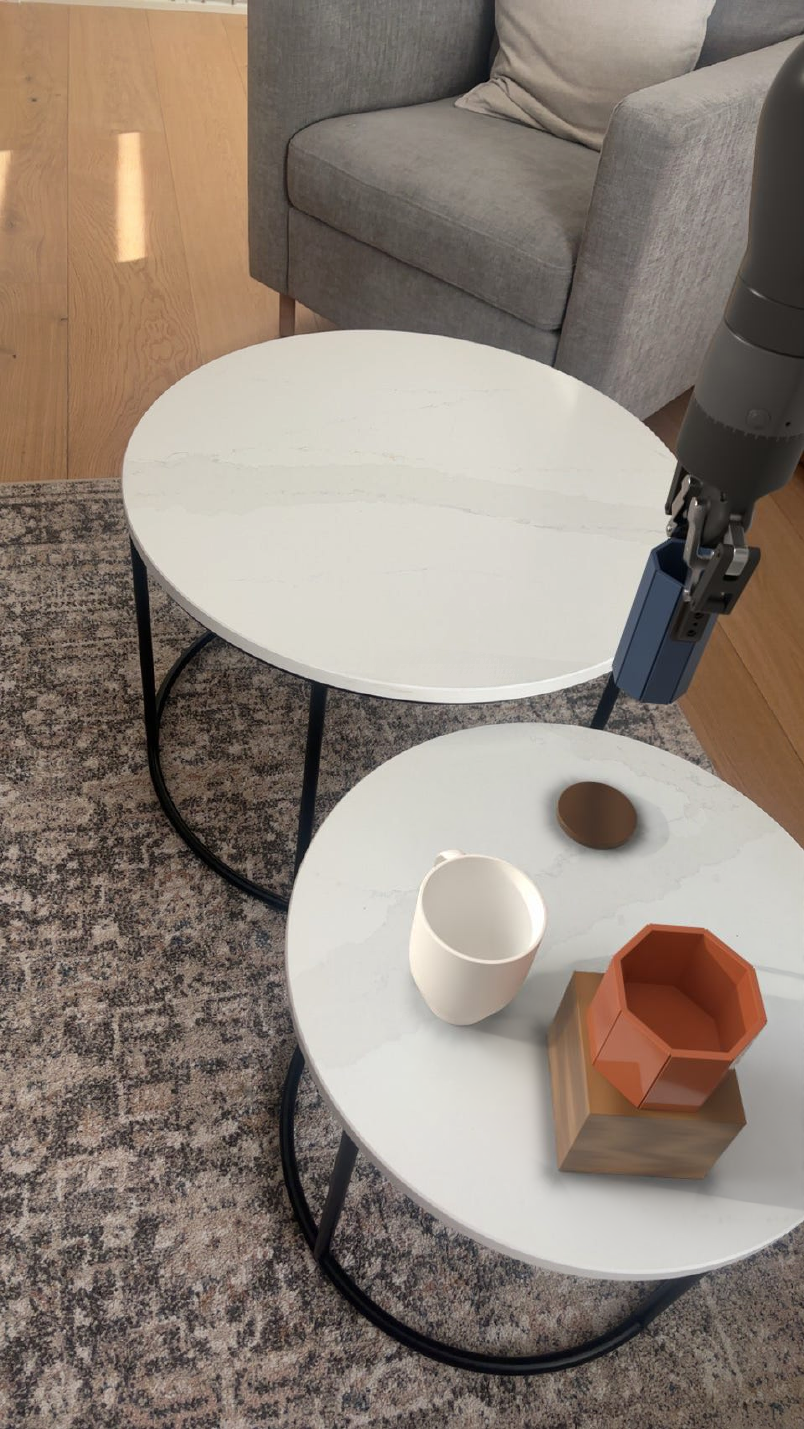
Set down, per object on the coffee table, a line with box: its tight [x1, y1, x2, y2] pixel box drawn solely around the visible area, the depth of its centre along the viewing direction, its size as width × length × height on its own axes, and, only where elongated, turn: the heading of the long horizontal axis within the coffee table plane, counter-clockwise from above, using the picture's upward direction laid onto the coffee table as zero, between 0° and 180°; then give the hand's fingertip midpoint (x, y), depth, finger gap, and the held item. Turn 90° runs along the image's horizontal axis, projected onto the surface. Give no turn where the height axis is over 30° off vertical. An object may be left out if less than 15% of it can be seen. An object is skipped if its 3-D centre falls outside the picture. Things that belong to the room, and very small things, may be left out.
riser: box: [546, 970, 747, 1180], centre depth 74 cm, size 10×10×9 cm
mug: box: [408, 849, 548, 1026], centre depth 78 cm, size 12×9×12 cm
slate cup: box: [611, 538, 720, 706], centre depth 79 cm, size 6×6×11 cm
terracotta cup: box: [586, 923, 768, 1112], centre depth 68 cm, size 9×9×7 cm
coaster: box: [555, 781, 638, 851], centre depth 95 cm, size 7×7×1 cm
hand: (675, 609), depth 78 cm, fingers closed on slate cup, 5 cm apart
